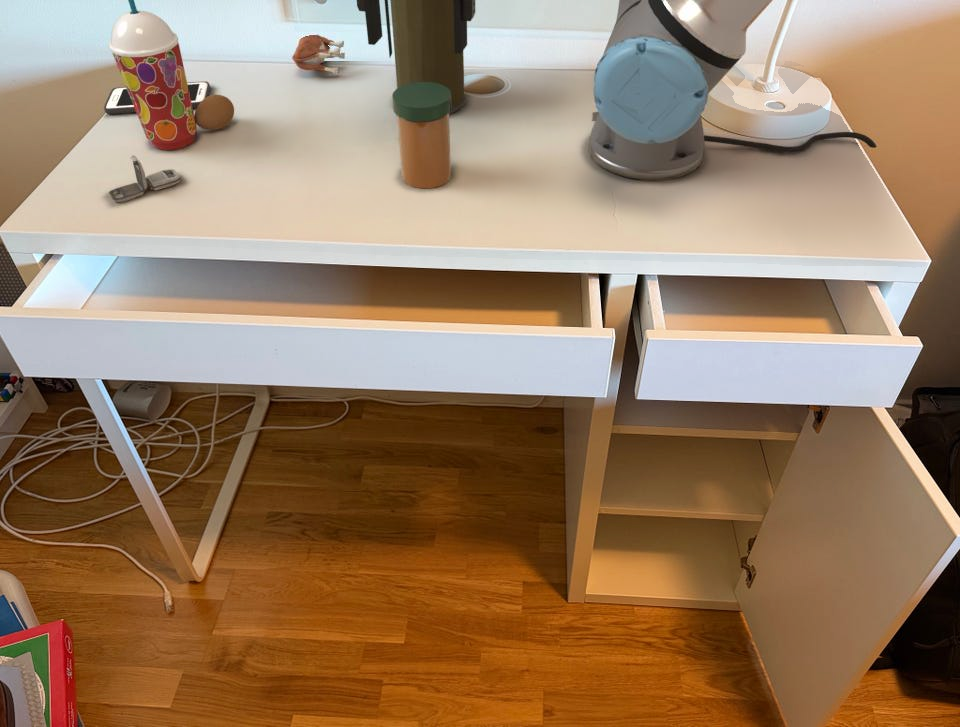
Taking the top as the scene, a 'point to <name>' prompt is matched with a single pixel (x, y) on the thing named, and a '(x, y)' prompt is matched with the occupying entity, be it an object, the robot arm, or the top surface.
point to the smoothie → (154, 77)
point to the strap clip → (145, 182)
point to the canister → (426, 45)
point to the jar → (425, 152)
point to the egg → (214, 112)
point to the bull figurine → (316, 53)
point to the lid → (422, 101)
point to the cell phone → (123, 104)
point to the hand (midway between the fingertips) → (417, 44)
